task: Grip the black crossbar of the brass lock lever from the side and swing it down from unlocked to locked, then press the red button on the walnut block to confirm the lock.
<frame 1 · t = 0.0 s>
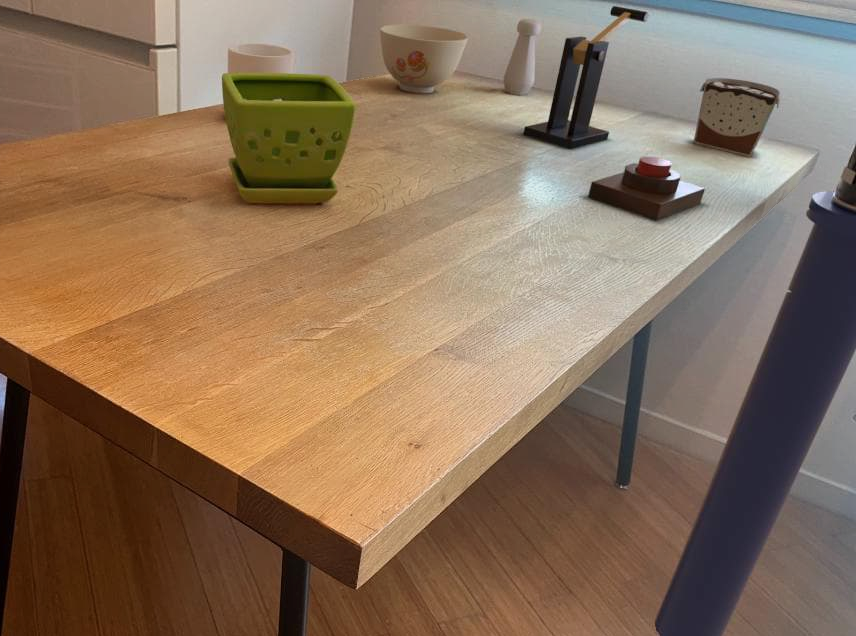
lock lever: (606, 34, 135), point 15 cm above the table, hinge at 25.0°
lock bracket: (565, 137, 140), on the table
confirm button: (653, 167, 113), point 4 cm above the table, slide at 0.1 cm
mug: (263, 119, 136), on the table
salt shaker: (516, 93, 167), on the table
flower pot: (280, 193, 107), on the table
confirm block: (644, 201, 115), on the table
food container: (727, 147, 143), on the table
bowl: (416, 90, 162), on the table
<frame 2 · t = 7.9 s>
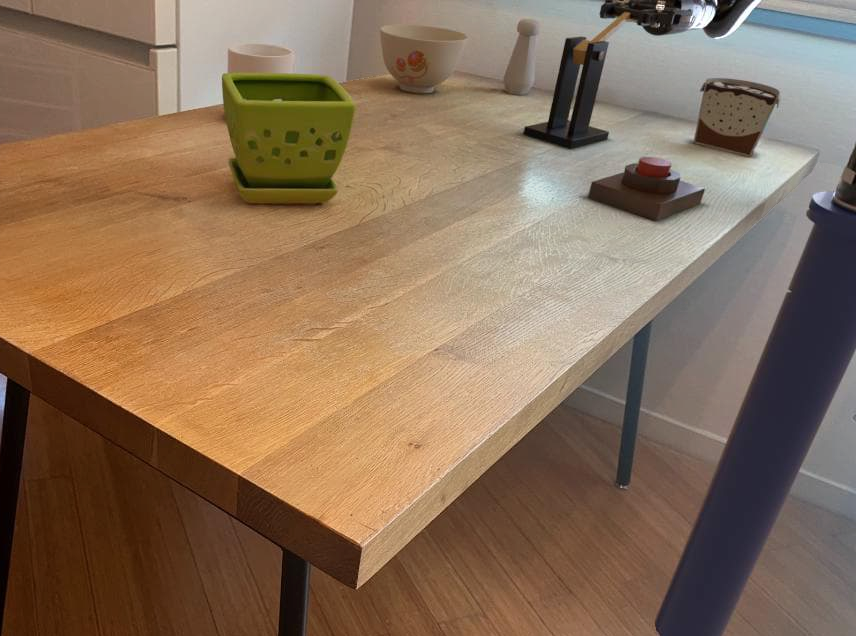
hand: (621, 14, 136), 18 cm above the table, tool horizontal, fingers closed on lock lever, 6 cm apart
lock lever: (606, 34, 135), point 15 cm above the table, hinge at 25.0°, touching gripper
everything else where it was.
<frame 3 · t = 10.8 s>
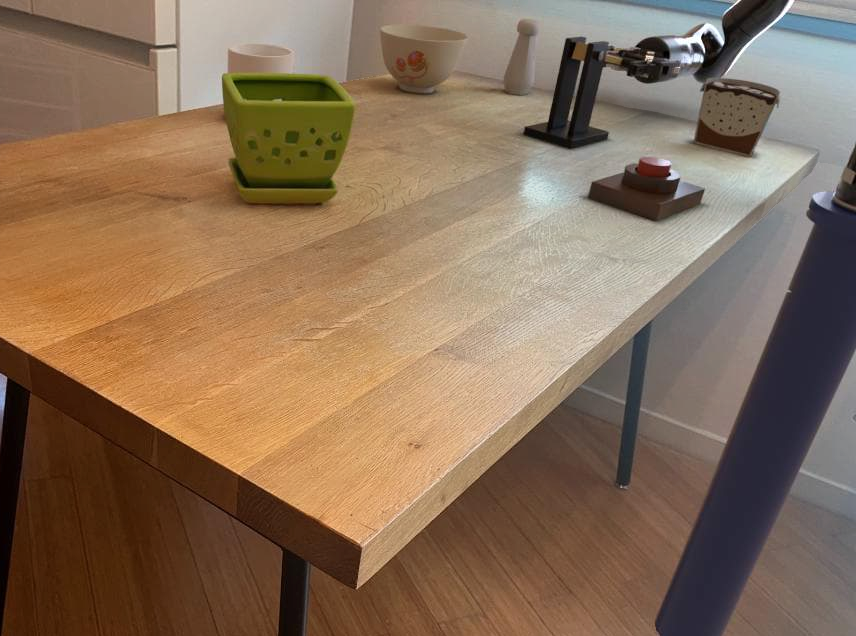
hand: (611, 65, 140), 10 cm above the table, tool horizontal, fingers closed on lock lever, 6 cm apart
lock lever: (602, 56, 137), point 12 cm above the table, hinge at -10.6°, touching gripper
everything else where it was.
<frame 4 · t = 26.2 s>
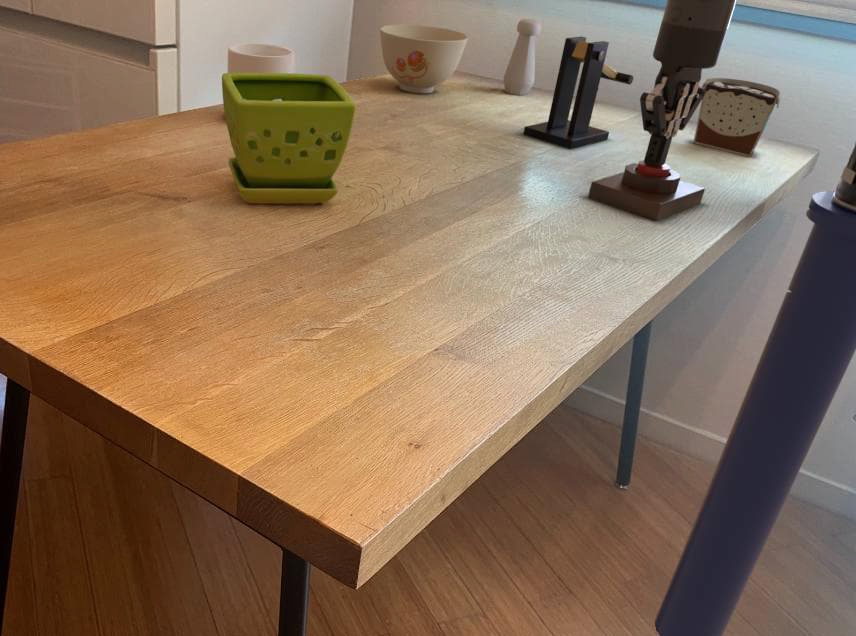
hand: (653, 164, 112), 5 cm above the table, tool pointing down, fingers closed
lock lever: (599, 64, 138), point 11 cm above the table, hinge at -21.7°
confirm button: (652, 171, 113), point 4 cm above the table, slide at -0.4 cm, touching gripper
everything else where it was.
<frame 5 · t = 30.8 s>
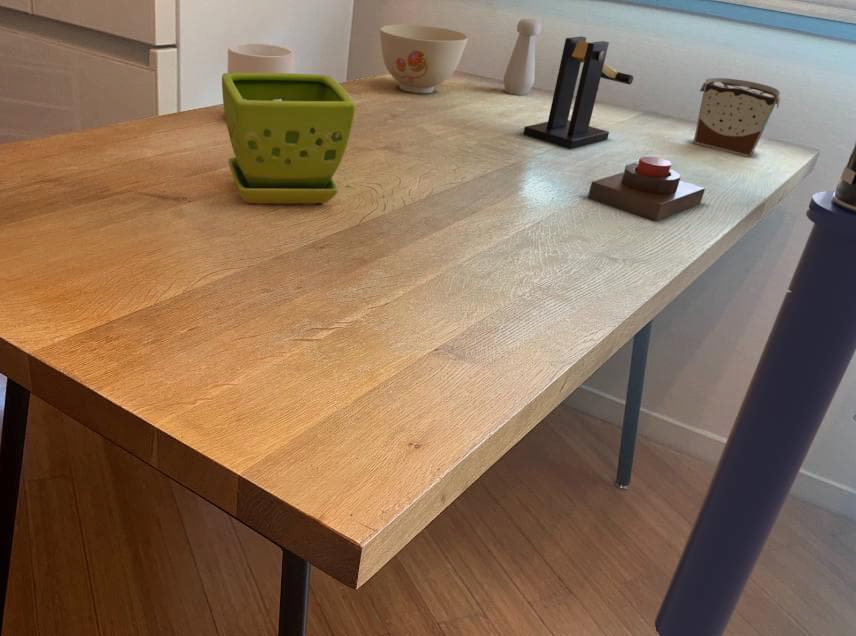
confirm button: (653, 167, 113), point 4 cm above the table, slide at 0.1 cm
everything else where it was.
at the end: lock lever at -22° (first picture: +25°); confirm button pushed in 1.1 cm at the most during the clip, back to where it started at the end; confirm button slide at 0.1 cm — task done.
